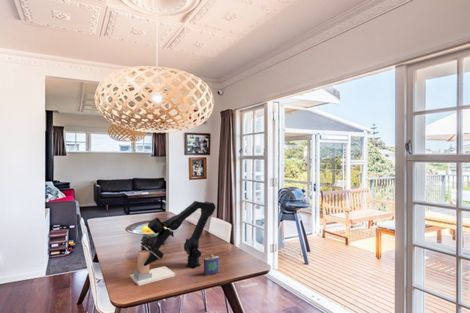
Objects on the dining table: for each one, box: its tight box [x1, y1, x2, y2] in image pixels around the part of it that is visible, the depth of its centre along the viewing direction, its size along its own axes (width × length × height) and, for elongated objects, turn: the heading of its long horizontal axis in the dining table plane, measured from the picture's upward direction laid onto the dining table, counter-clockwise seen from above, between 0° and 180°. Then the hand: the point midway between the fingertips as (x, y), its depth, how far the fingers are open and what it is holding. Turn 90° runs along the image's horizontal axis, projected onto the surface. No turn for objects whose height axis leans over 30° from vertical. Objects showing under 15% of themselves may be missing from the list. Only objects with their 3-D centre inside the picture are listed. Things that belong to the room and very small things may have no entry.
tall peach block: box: [136, 250, 151, 276], centre depth 155 cm, size 5×4×13 cm
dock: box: [129, 265, 176, 286], centre depth 158 cm, size 20×13×4 cm, turn 128°
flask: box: [203, 254, 220, 277], centre depth 162 cm, size 9×3×11 cm, turn 122°
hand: (140, 262), depth 154 cm, fingers open, 9 cm apart
